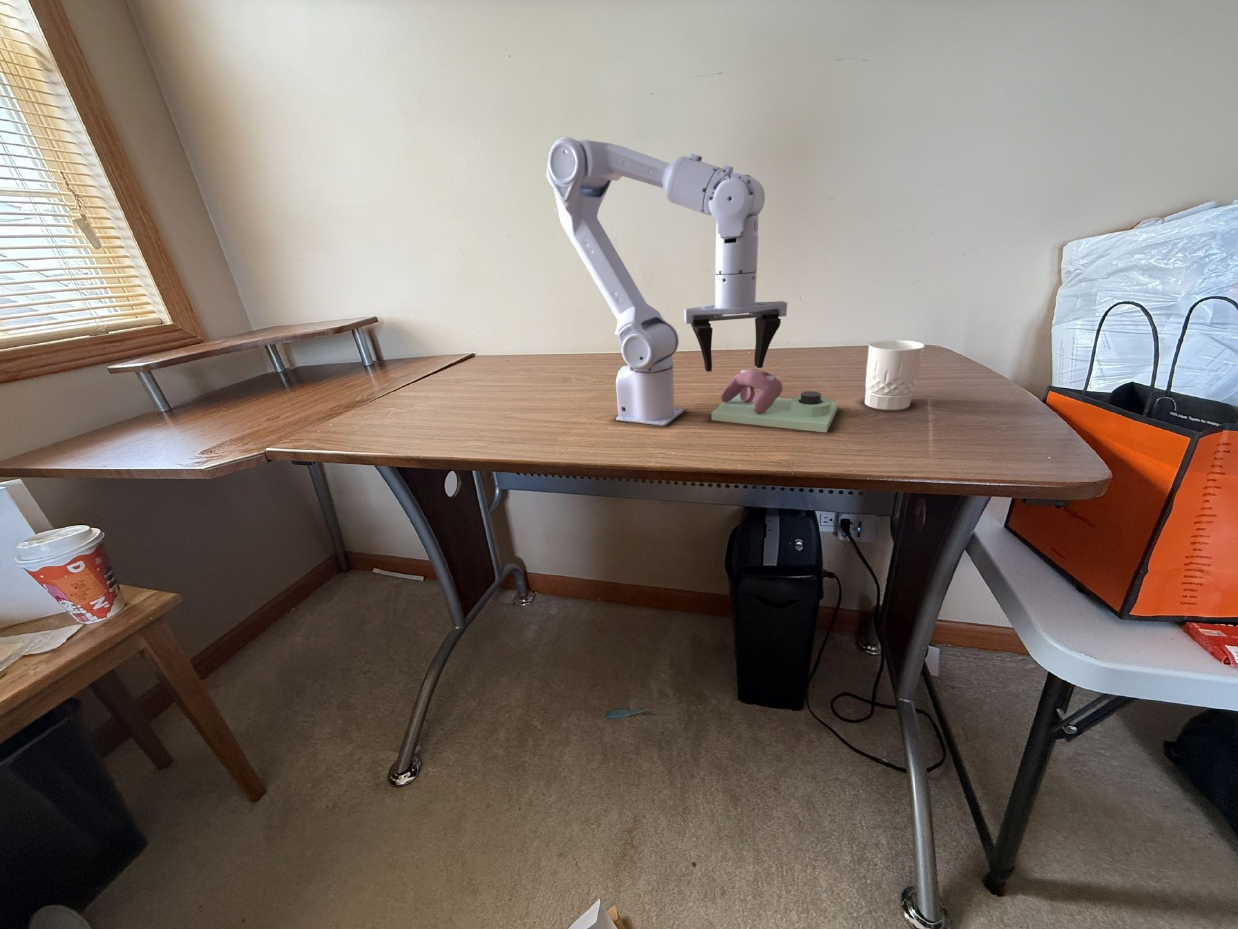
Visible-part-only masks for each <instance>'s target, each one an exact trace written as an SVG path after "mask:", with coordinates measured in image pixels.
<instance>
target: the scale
mask: <svg viewBox="0 0 1238 929" xmlns="http://www.w3.org/2000/svg"><path fill="white" fill-rule="evenodd" d="M800 400H801V395H799V396H794V397H792V398H788V397H787V398H784V397H777V398H776V400H775V401H774V403H773V404H772V405H771V407H770V408H769V409H768V410H766V411H765V412H763V413H761V414H757V413H756V412H755V404H754V403H753V400H752V401H751V402H749V403H747V402H744V401H742V400H741V398H740V394H738V395H737V396H736V397H734V398H733V399H732V400H730V401H728V402H722V403H720V404H719V405H718V406H717V407H716V408H715V409H713V410H712V412H711V421H718V422H727V423H735V424H743V425H744V424H745V425H755V426H762V427H773V428H782V429H783V428H784V429H790V430H792V429H793V430H799V431H800V430H801V431H807V432H808V431H810V432H817V433H828V430H829V428H830V426H831V424H832V422H833V420H834V417H835V415H836V413H837V411H838V406H839V402H835V401H832V400H830V399H829V398H827V397H823V396H821V402H820V404H815V405H809V404H802V403H800Z"/></svg>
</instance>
